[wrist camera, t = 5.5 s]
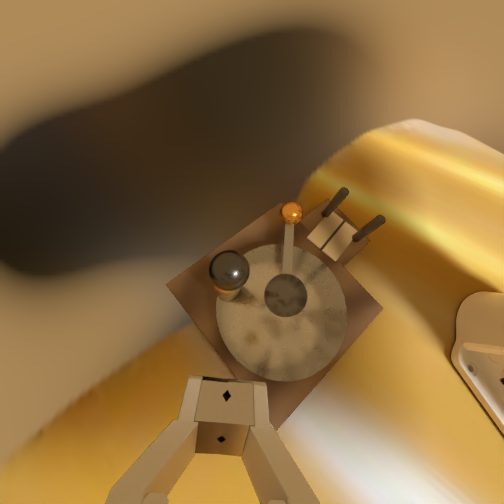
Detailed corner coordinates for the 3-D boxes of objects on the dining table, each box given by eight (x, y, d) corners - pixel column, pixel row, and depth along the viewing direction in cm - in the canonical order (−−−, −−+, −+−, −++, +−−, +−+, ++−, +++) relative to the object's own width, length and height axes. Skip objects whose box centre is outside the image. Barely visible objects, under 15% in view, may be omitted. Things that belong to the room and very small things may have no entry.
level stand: (399, 281, 35) (447, 266, 28) (272, 424, 27) (292, 456, 20) (305, 188, 39) (326, 153, 32) (169, 287, 31) (153, 271, 23)
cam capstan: (338, 220, 35) (388, 171, 25) (343, 385, 27) (419, 415, 17) (226, 202, 34) (230, 141, 23) (198, 370, 26) (183, 392, 16)
